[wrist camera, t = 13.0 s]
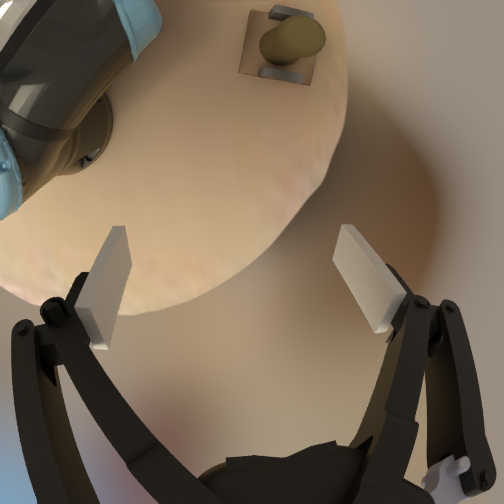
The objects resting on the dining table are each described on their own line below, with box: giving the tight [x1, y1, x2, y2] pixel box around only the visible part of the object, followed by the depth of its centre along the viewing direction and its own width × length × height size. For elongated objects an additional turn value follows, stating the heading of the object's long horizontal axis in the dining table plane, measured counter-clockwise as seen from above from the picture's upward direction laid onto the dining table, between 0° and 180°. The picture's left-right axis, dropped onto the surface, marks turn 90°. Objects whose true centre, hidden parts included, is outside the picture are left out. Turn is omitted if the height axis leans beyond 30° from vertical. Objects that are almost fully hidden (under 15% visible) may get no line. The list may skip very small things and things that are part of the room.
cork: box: [259, 15, 326, 66], centre depth 25 cm, size 6×6×11 cm
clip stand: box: [239, 5, 316, 86], centre depth 29 cm, size 10×10×5 cm
